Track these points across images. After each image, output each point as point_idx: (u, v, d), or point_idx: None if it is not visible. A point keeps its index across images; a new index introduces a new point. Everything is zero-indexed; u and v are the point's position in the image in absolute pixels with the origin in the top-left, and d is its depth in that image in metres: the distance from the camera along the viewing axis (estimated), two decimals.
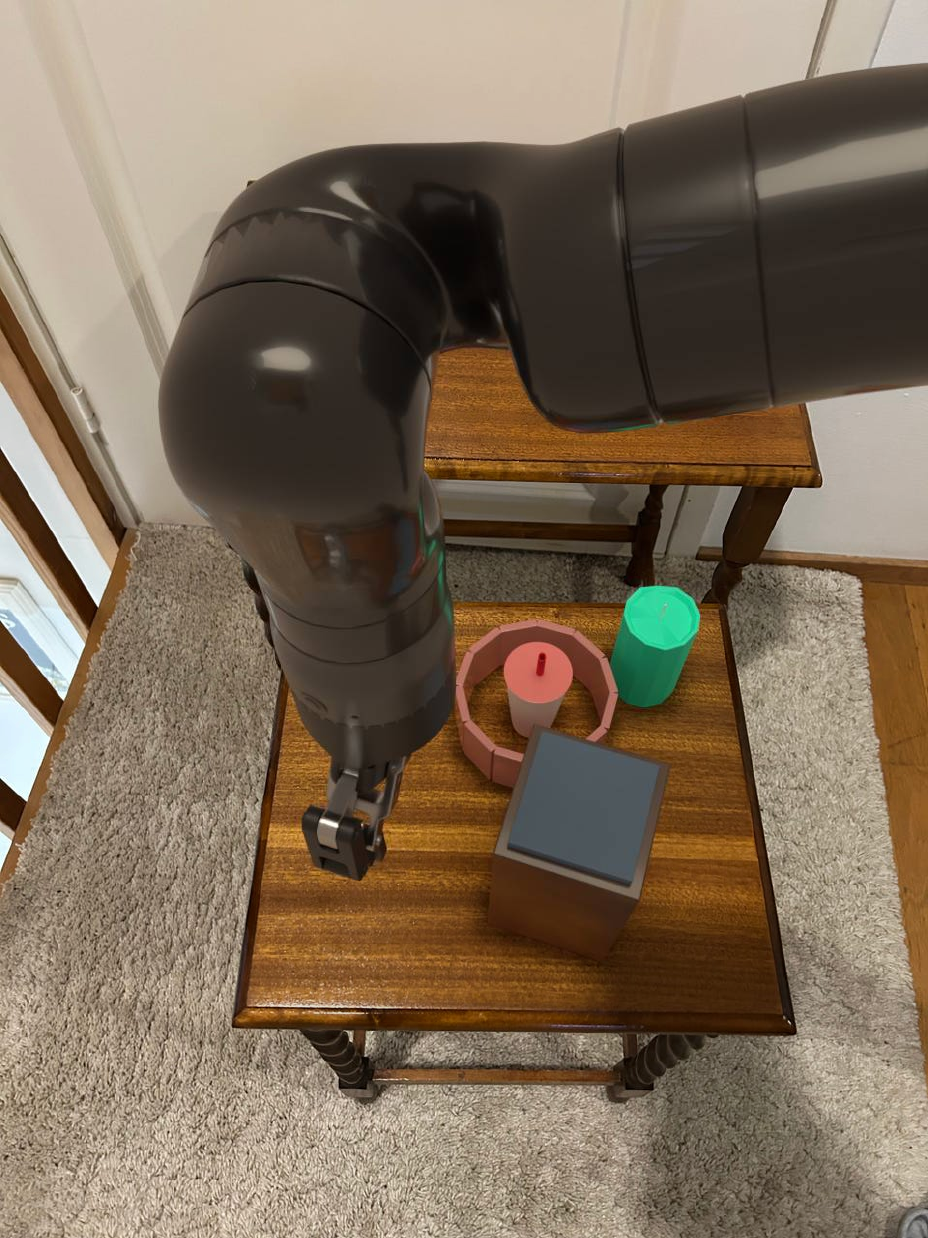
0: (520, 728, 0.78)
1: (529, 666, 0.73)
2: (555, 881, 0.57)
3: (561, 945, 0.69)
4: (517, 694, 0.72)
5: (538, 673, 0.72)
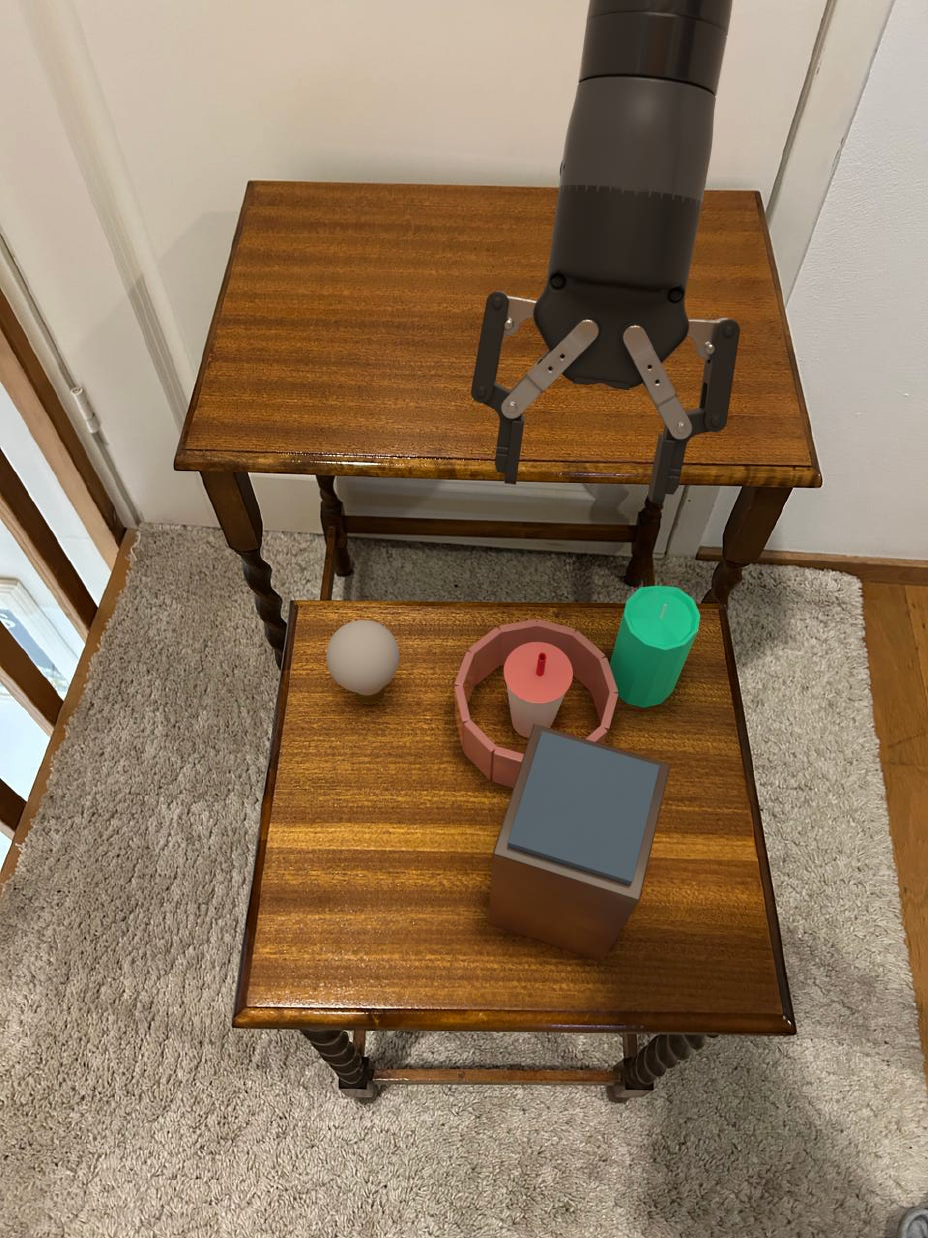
0: (520, 728, 0.78)
1: (529, 666, 0.73)
2: (555, 881, 0.57)
3: (561, 945, 0.69)
4: (517, 694, 0.72)
5: (538, 673, 0.72)
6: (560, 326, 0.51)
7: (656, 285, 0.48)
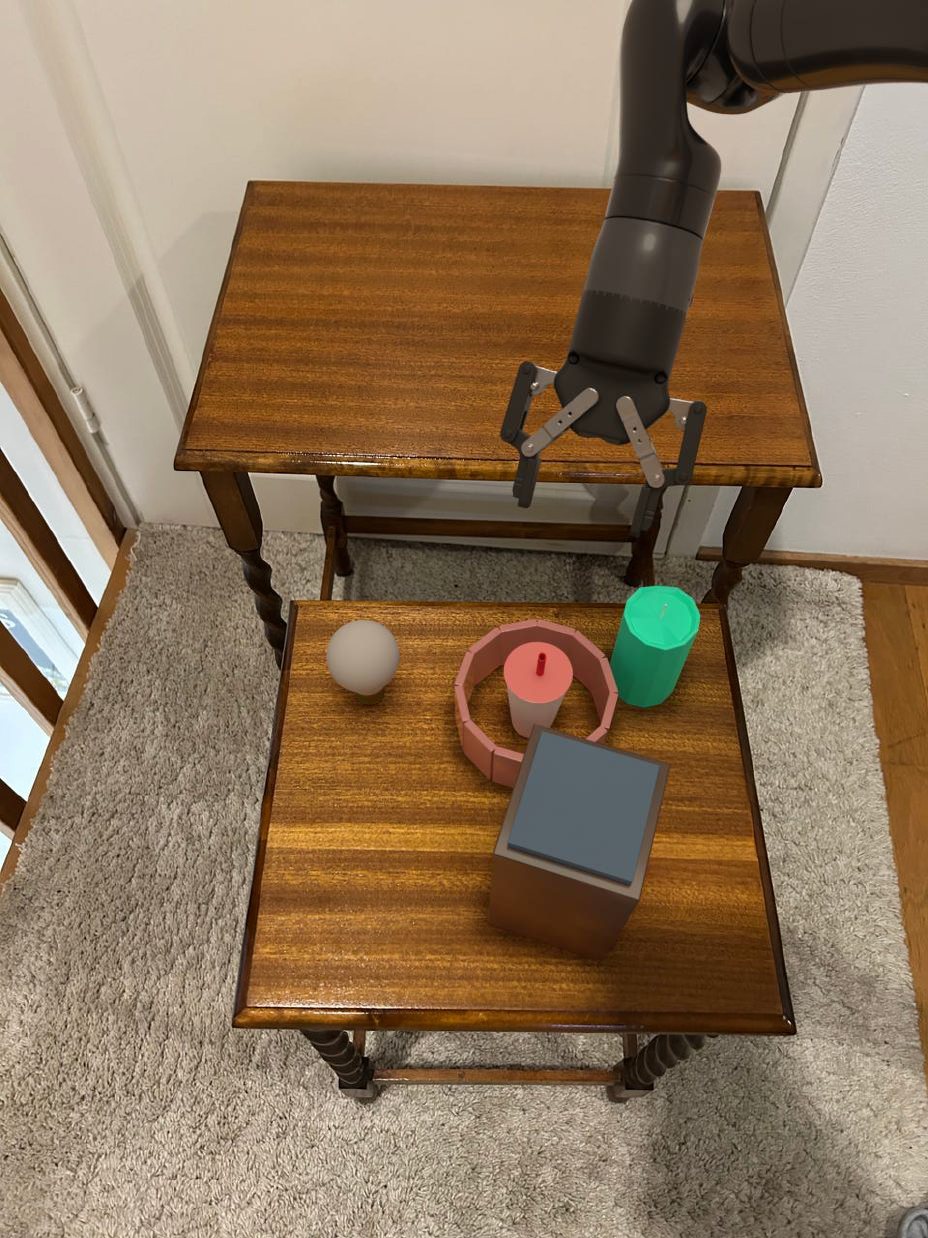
0: (520, 728, 0.78)
1: (529, 666, 0.73)
2: (555, 881, 0.57)
3: (561, 945, 0.69)
4: (517, 694, 0.72)
5: (538, 673, 0.72)
6: (571, 391, 0.67)
7: (642, 367, 0.64)
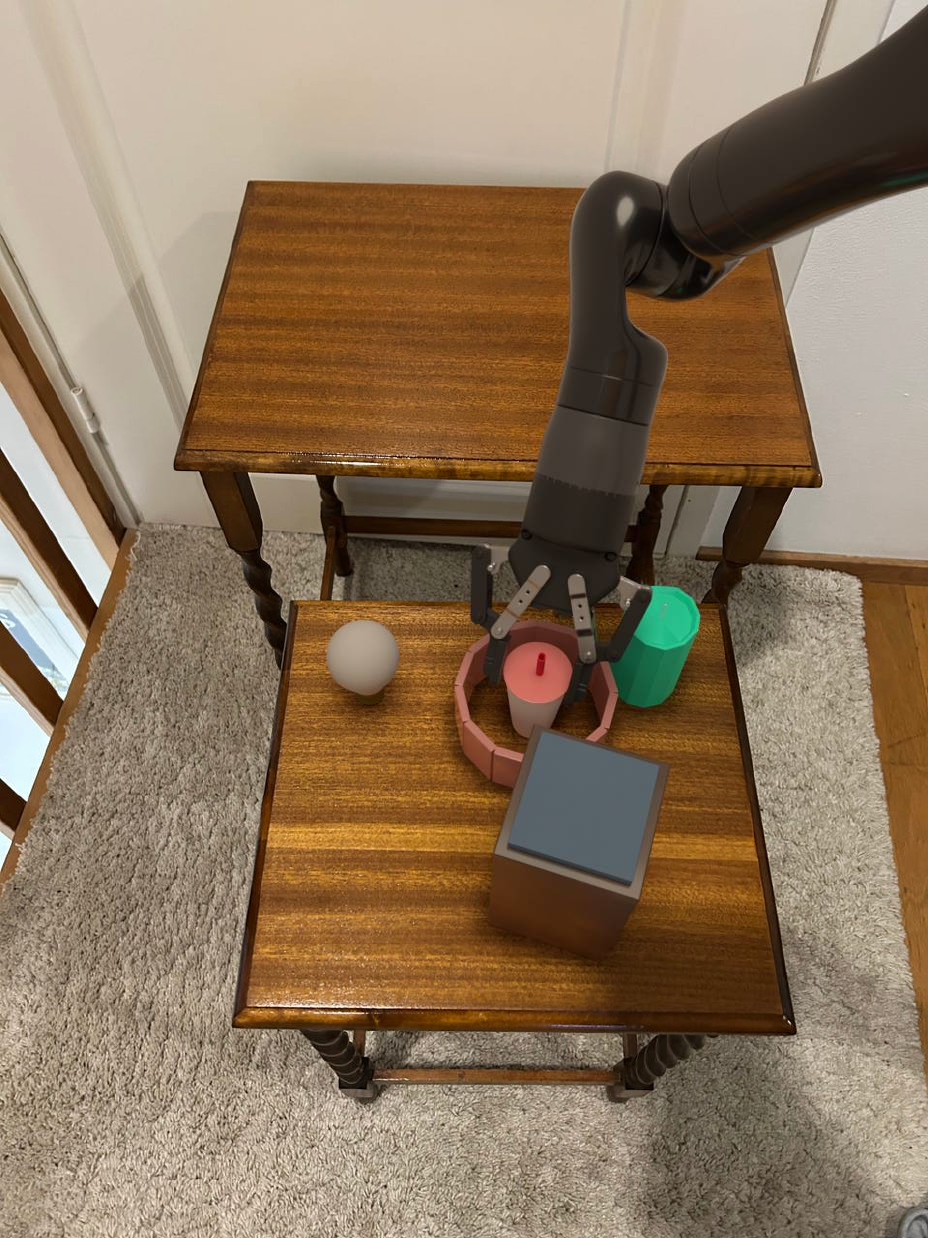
0: (520, 728, 0.78)
1: (529, 666, 0.73)
2: (555, 881, 0.57)
3: (561, 945, 0.69)
4: (517, 694, 0.72)
5: (538, 673, 0.72)
6: (525, 566, 0.69)
7: (591, 550, 0.66)
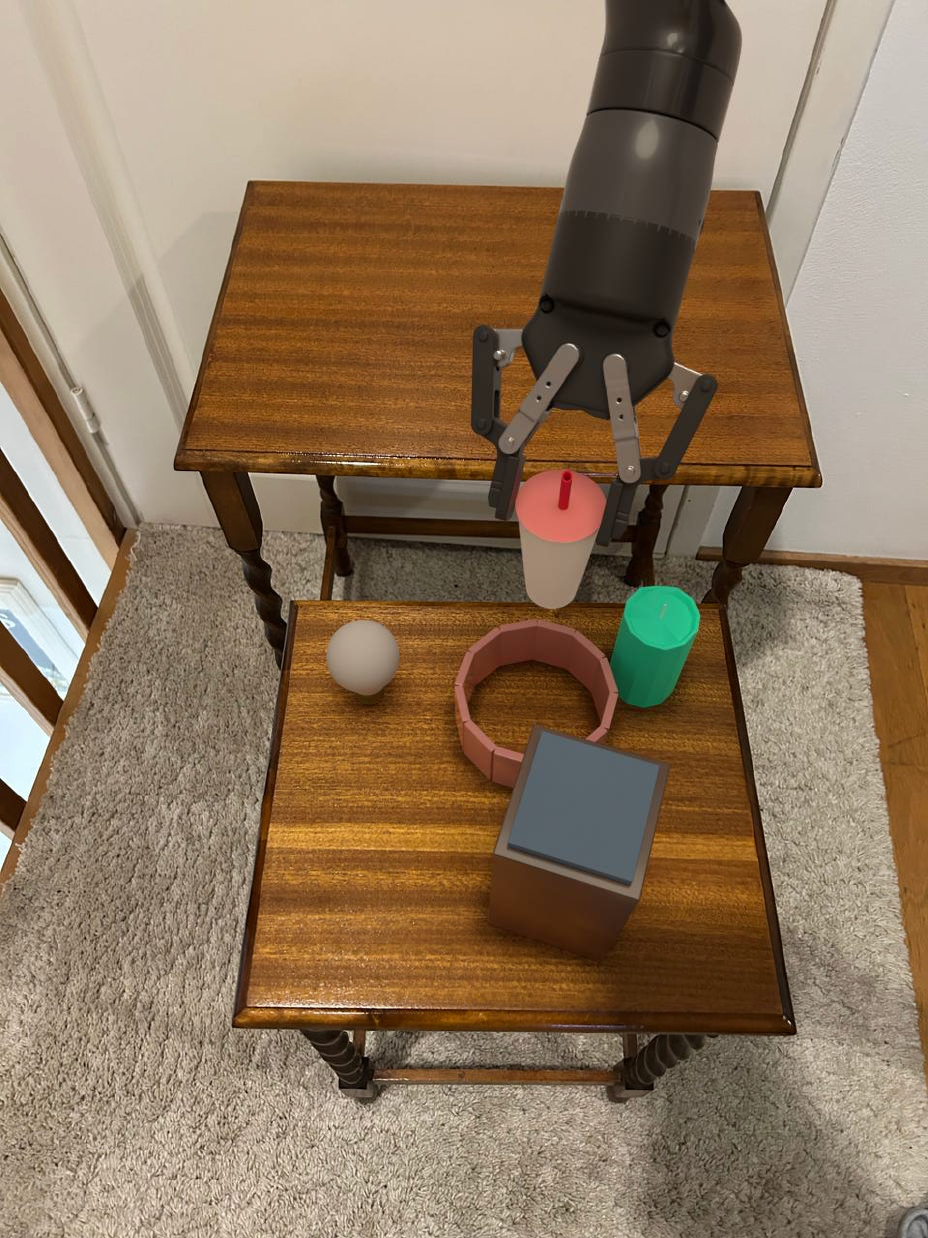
0: (537, 593, 0.60)
1: (549, 498, 0.55)
2: (555, 881, 0.57)
3: (561, 945, 0.69)
4: (533, 531, 0.54)
5: (561, 505, 0.54)
6: (544, 349, 0.51)
7: (636, 313, 0.48)
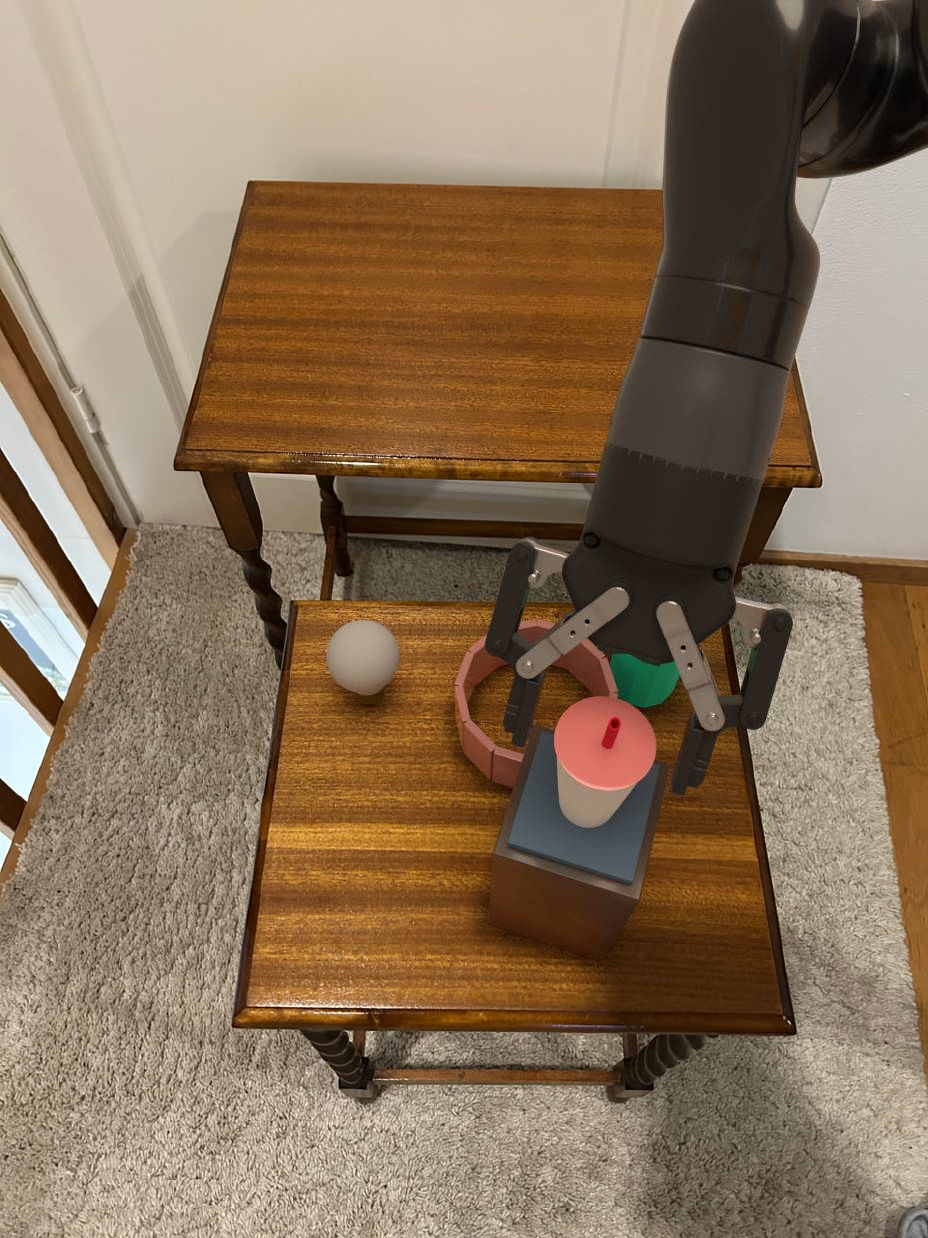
0: (573, 815, 0.55)
1: (592, 733, 0.49)
2: (555, 881, 0.57)
3: (561, 945, 0.69)
4: (575, 777, 0.48)
5: (606, 745, 0.49)
6: (589, 587, 0.45)
7: (697, 565, 0.42)
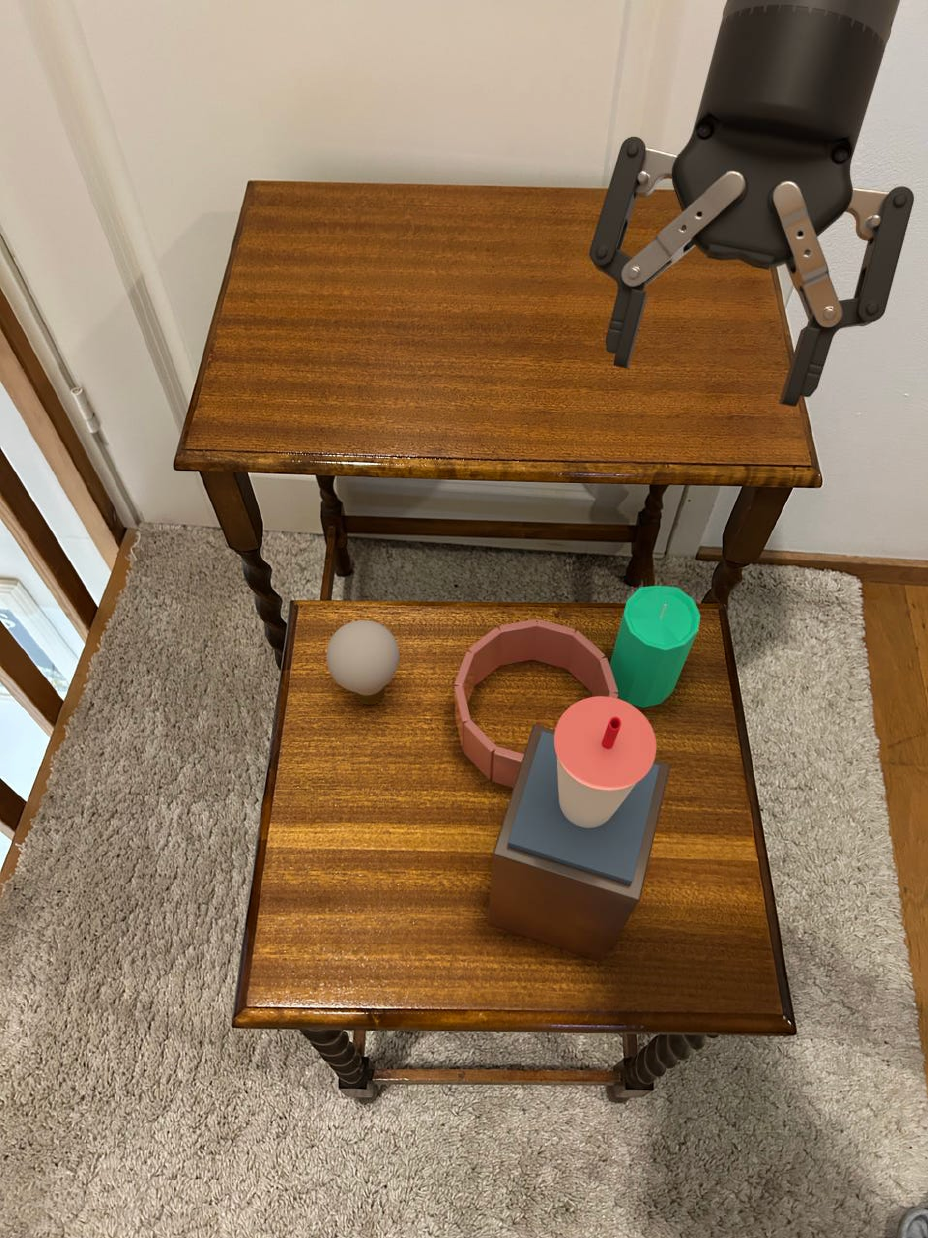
0: (573, 815, 0.55)
1: (592, 733, 0.49)
2: (555, 881, 0.57)
3: (561, 945, 0.69)
4: (575, 777, 0.48)
5: (606, 745, 0.49)
6: (701, 182, 0.44)
7: (820, 127, 0.41)
